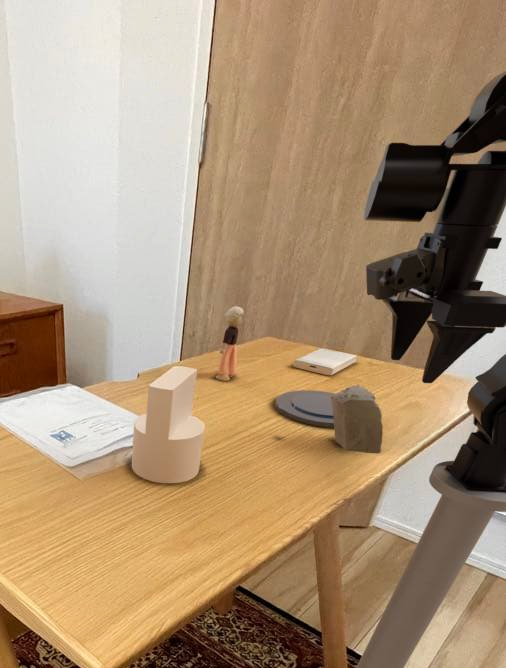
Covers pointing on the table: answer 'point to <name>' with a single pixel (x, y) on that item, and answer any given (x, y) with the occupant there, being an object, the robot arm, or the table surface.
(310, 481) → the table surface
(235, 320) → the grandmother figurine
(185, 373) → the base with upright slab
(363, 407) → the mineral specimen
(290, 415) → the plate
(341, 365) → the hard drive
